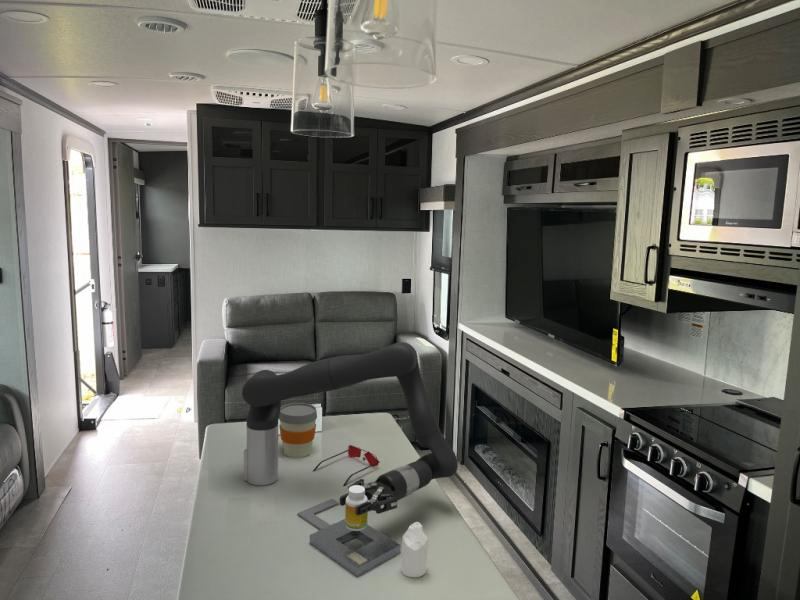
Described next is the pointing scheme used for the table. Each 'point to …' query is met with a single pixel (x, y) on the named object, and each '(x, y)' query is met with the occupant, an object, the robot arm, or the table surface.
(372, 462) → the glasses
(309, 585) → the table surface
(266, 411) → the robot arm
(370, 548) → the socket block
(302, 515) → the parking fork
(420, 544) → the white plastic bottle
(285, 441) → the reusable coffee cup
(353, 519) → the supplement bottle
